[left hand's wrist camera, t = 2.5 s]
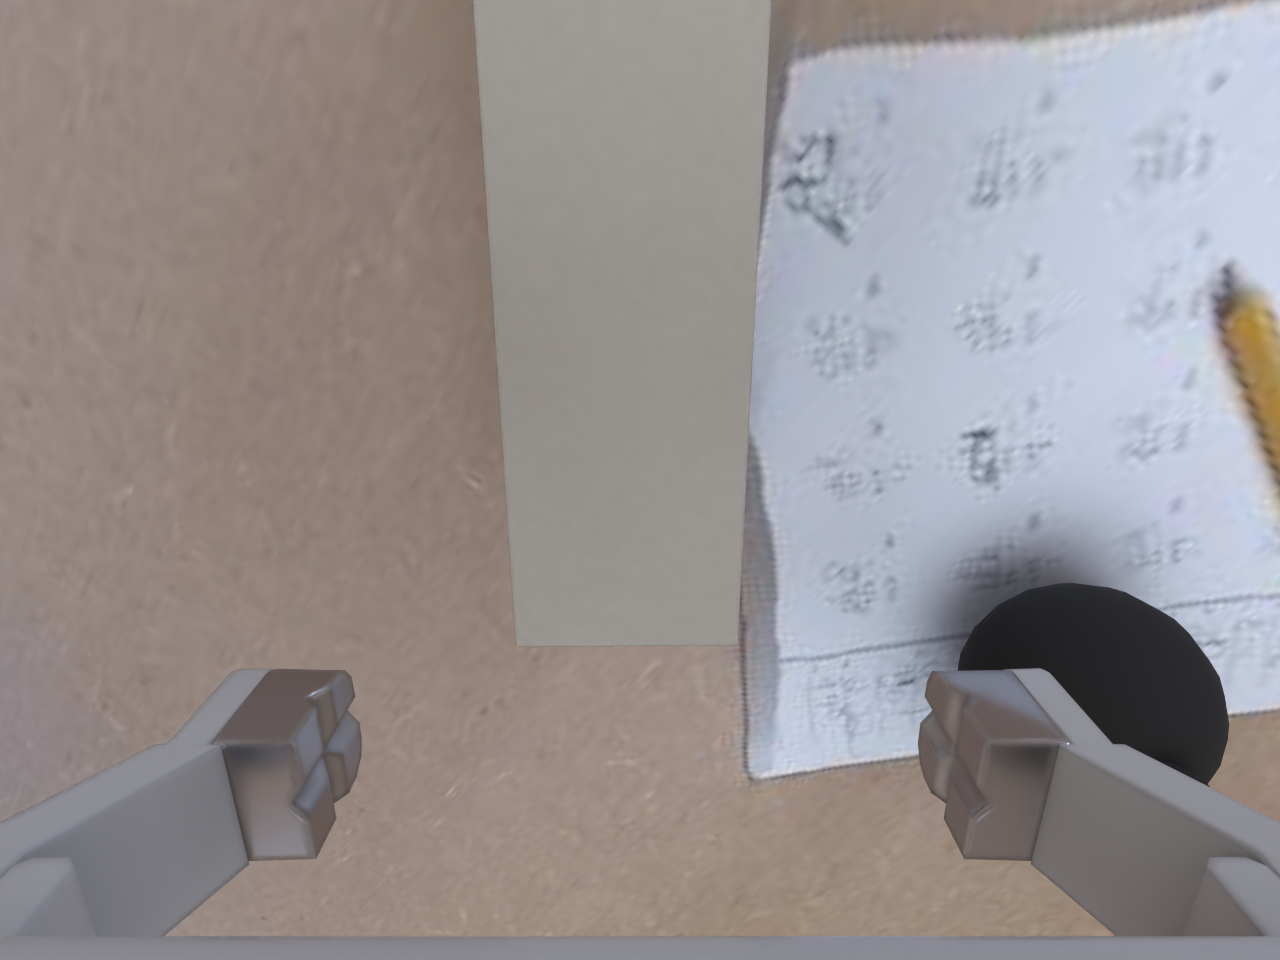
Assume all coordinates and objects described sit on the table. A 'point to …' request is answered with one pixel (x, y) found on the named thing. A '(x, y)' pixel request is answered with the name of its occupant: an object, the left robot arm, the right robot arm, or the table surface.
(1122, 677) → the bomb
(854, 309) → the table surface
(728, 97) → the bar
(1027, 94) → the table surface
